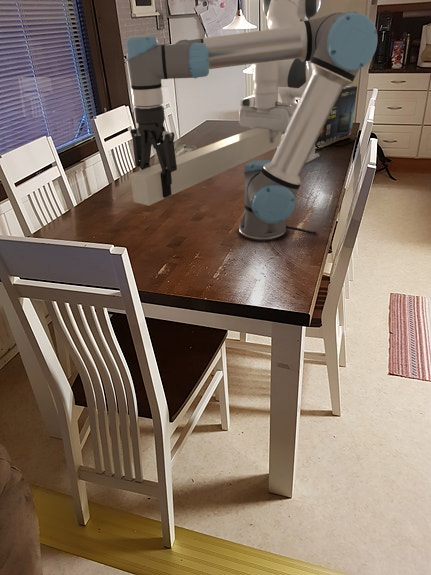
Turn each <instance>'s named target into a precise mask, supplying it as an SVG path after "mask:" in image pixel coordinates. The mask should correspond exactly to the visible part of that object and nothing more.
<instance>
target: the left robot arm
mask: <svg viewBox="0 0 431 575" xmlns="http://www.w3.org/2000/svg"><path fill="white" fill-rule="evenodd" d="M125 43H126V44H125V45H126V57H127V58H126V61H127V66H128V73H129V82H130V88H131V96H132V104H133V106H135V107H134V109H133V112H134V119H135V123H136V124H137V127H136V128H132V129H130V130H129V132H130V135H131V140H132V147H133V157H134V165H135V167H138V168H140V170H143V169H146V168H148V167H151V166H152V165H151V156H152V147H153V149H154V150H155V152H156V156H157V160H158V162H159V163H160V165H161V168H162V173H161V183H162V192H163V197H164V198H165V199H167V198H169V197H171V196H173V195H172V194H171V184H172V178H171V172H173V171H175V170H177V165H176V157H175V149H174V147H175V143H174V141H175V133H174V132H173V131H171V132H168V131H167V130H166V127H165V124H164V123H165V120H166V115H165V114H166V113H165V107H164V106H163V105H162V104H164V96H163V95H164V94H163V87H162V86H163V85H162V80H171V79H198V78H205V77H207V76H208V75H209V74H210V70H213V69H222V68H229V67H230V68H232V67H238V66H246V65H253V64H255V63H263V62H271V61H280V60H288V59H296V58H298V59H300V60H301V61H302V62H304V61H311V62H310V65H311V69H312V74H311V77H310V79H309V81H308V83H307V85H306V87H305V90H304V92H303V94H302V96H301V98H299V101H298V103H297V104H298V105H297V107H296V109H295V111H294V113H293V115H292V118H291V120H290V122H289V124H288V126H287V128H286V131H285V133H284V135H283V137H282V139H281V141H280V144H279V146H278V147H277V148H276V150H275V152H274V155H273V157H272V158H271V159H261V160H259V159H258V160H252V161H247V163H245V164H244V171H243V174H244V211H243V213H242V216H241V220H240V222H239V226H238V232H239V235H240V236H241V237H242V238H244V239H247V240H250V241H254V242H271V241H277V240H279V239H281V238H283V237H285V235H286V234H287V229H288V230H293V231H297V232H302V233H305V234H311V235H317V231H316V230H307V229H303V228H299V227H294V226H290V225H287V223H286V220H288V219H289V218H290V217H291V216H292V215H293V213H294V211H295V208H296V195H297V193H298V191H299V189H300V187H301V185H302V179H301V176H300V175H301V173H302V171H303V169H304V166H305V164H307V163H306V161H307V159H308V157H309V155H310V153H311V151H312V149H313V147H314V145H315V143H316V141H317V139H318V137H319V135H320V133H321V131H322V129H323V127H324V125H325V123H326V121H327V119H328V117H329V115H330V113H331V111H332V109H333V107H334V105H335V103H336V101H337V99H338V97H339V95H340V93H341V91H342V89H343V87H344V86H346V85H349V86H350V85H351V84H353V82H354V81H355V78H356V77H357V74H358V73H359V71H360V70H361V69H362V68H364V66H366V65H367V64H368V63H369V62H370V61H371V60H372V59H373V57H374V55H375V54H376V51H377V46H378V32H377V28H376V26H375V24H374V22H373V21H372V19H370V17H368V16H367V15H365V14H362V13H359V12H357V11H347V12H342V11H341V12H333V13H330V14H327V15H323V16H321V17H317V18H313V19H312V18H311V19H310V20H309V19H308V20H306V21H301V22H300V23H299V24H298V26H294V27H286V28H279V29H271V30H270V29H263V30H256V31H249V32H241V33H234V34H226V35H218V36H211V37H209V36H208V37H203V38H195V39H194V38H193V39H182V40H181V39H180V40H178V41H177V42H175V43H173V44H159V42H158V38H157V37H156V36H155V35H141V36H139V35H138V36H130V37H128V38H127V40H126V42H125ZM166 168H167V169H166ZM170 195H171V196H170ZM168 196H169V197H168ZM166 197H167V198H166Z"/></svg>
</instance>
